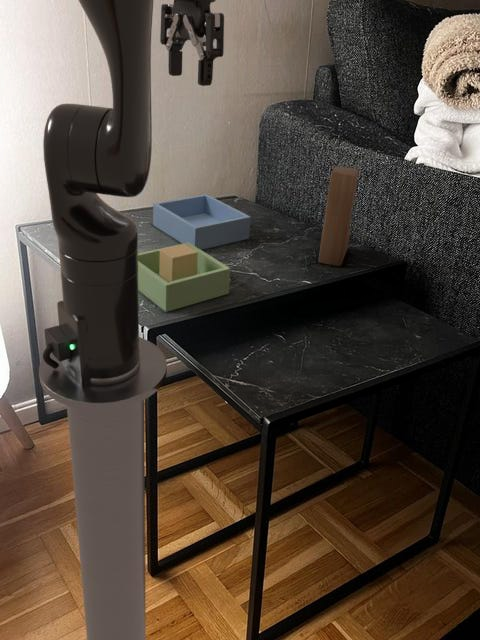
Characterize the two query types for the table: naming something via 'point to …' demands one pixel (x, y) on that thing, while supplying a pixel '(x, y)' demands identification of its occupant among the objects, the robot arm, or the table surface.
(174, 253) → the block
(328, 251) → the wooden block
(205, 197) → the blue tote
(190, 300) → the green tote
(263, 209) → the table surface
